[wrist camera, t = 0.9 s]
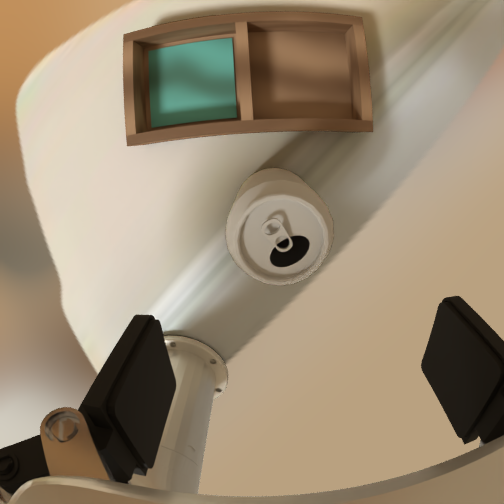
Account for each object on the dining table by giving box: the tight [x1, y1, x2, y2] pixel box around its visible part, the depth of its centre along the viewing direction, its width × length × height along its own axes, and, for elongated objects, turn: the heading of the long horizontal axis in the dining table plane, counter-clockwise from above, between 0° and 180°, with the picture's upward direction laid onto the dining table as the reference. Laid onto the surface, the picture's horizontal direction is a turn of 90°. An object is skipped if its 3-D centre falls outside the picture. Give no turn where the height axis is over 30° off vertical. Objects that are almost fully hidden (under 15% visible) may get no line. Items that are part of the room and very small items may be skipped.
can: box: [225, 168, 334, 286], centre depth 24 cm, size 8×8×12 cm
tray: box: [123, 12, 373, 146], centre depth 23 cm, size 12×22×4 cm, turn 93°
